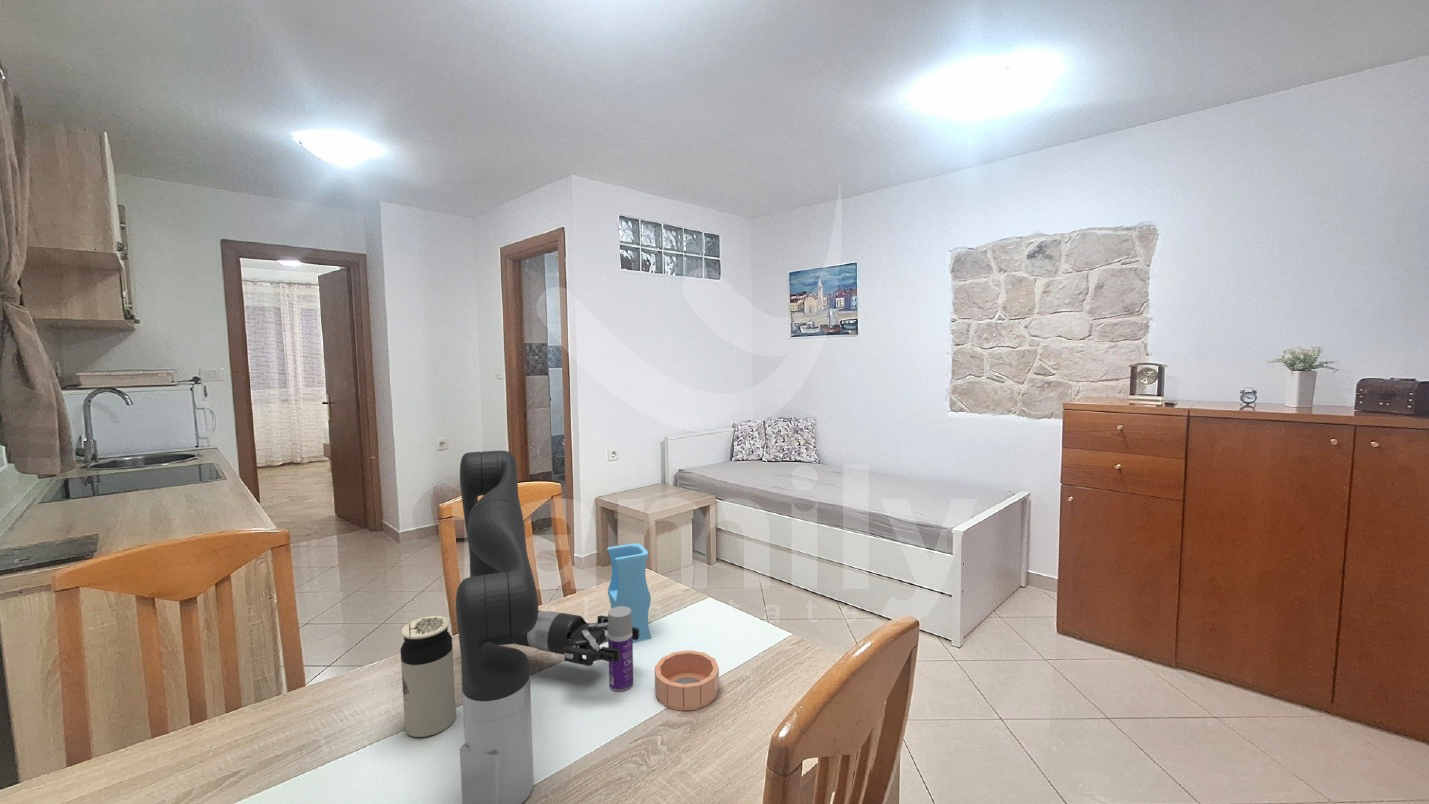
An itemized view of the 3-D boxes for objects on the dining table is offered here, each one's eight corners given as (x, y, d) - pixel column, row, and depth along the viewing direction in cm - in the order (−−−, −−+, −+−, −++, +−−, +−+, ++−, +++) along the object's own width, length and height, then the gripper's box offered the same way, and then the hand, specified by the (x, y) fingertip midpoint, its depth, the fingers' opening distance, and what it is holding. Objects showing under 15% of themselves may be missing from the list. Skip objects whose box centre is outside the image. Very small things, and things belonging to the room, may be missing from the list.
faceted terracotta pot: (706, 716, 98) (706, 692, 98) (645, 703, 102) (645, 680, 101) (725, 678, 110) (725, 656, 109) (669, 668, 113) (669, 646, 113)
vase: (608, 630, 129) (606, 547, 127) (641, 622, 132) (639, 542, 130) (617, 646, 122) (615, 559, 120) (651, 638, 125) (650, 553, 123)
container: (628, 693, 105) (626, 618, 104) (605, 690, 106) (603, 616, 104) (636, 679, 110) (635, 606, 108) (614, 676, 110) (612, 604, 109)
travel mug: (457, 704, 102) (452, 611, 100) (454, 731, 94) (449, 632, 93) (409, 714, 99) (403, 619, 97) (401, 744, 92) (395, 641, 90)
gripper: (534, 631, 104) (611, 645, 99) (575, 599, 118) (644, 609, 113) (535, 669, 105) (612, 684, 100) (576, 632, 118) (645, 644, 113)
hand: (629, 644), depth 106 cm, fingers open, 8 cm apart
